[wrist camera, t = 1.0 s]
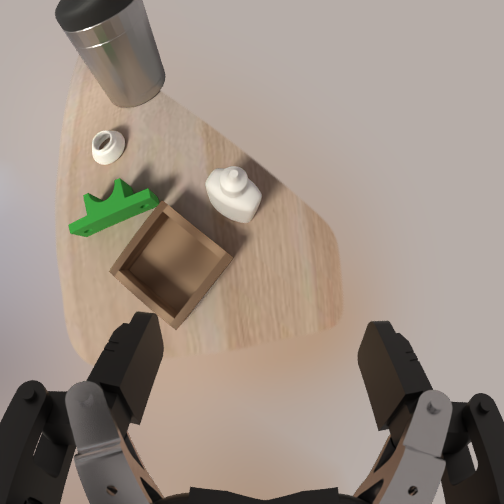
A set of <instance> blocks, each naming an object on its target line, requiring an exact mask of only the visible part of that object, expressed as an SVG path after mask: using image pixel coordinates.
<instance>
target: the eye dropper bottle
mask: <svg viewBox="0 0 504 504" xmlns="http://www.w3.org/2000/svg"><path fill="white" fill-rule="evenodd" d="M205 185H206V189H207V193H208V196H209V199H210V202H211V203H212V205H213V206H214V207H215V209H216V210H217V211H219V212H220V213H221V214H222V215H224V216H225V217H227V218H229V219H231V220H234V221H237V222H242V223H248V222H250V221H251V219H252V218H253V216H254V215H255V213H256V211H257V209H258V206H259V204H260V202H261V198H262V195H261V192H260V190H259V189H258V188H257V186H256V185H255V184H254V183H253V182H252V181H251V180H250V179H248V176H247V173H246V172H245V171H244V170H243V169H242V168H240V167H237V166H230V167H228V168H225V169H222V168H218V169H215V170H213V171H212V173H211V174H210V176H209V177H208V179H207V180H206V184H205Z"/></svg>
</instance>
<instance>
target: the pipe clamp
mask: <svg viewBox="0 0 504 504" xmlns="http://www.w3.org/2000/svg"><path fill="white" fill-rule="evenodd" d="M114 182H115V186H114V190H113V193H112V194H111V196H110V197H109V198H108V199H107V200H105V201H102V200H101V199H99V198H97V197H95V196H93V195H91V194H89V193H87V194H85V195H83V197H84V202H85V207H86V211H87V216H85V217H83V218H81V219H79V220H77V221H75V222H73V223H71V224H69V230H70V234H75V235H80V236H84V237H88V236H90V235H92V234H94V233H97V232H99V231H101V230H103V229H105V228H108V227H110V226H112V225H114V224H117V223H119V222H121V221H124V220H126V219H128V218H131V217H133V216H135V215H138V214H140V213H143V212H145V211H148V210H150V209H153V208H155V207H157V206H158V205H159V200H158V197H157V196H156V195H155V194H154V193H153V192H152V191H150V190H149V189H145V190H143V191H140V192H138V193H136V194H133V190H132V187H130V186H129V185H128V184H127V183H125V182H124V181H123V180H122V179H120V178H119V179H117V180H114Z"/></svg>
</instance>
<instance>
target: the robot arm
mask: <svg viewBox="0 0 504 504" xmlns="http://www.w3.org/2000/svg"><path fill="white" fill-rule="evenodd" d="M55 16H56V19H57V21H58V23H59V24H60V26H61V27H62V29H63V30H64V32H65V33H66V35H67V37H68V38H69V40H70V41H71V43H72V44H73V45H74V47H75V48H76V50H77V51H78V53H79V55H80V56H81V58H82V59H83V61H84V62H85V63H86V65H87V66H88V68H89V69H90V71H91V72H92V74H93V75H94V77H95V78H96V80H97V81H98V83H99V84H100V86H101V87H102V89H103V90H104V92H105V93H106V94H107V96H108V97H109V99H110V100H111V101H112V103H113V104H115V105H116V106H119V107H125V108H128V107H134V106H138V105H141V104H143V103H145V102H147V101H148V100H150V99H151V98H153V97H154V96H155V95H156V94H157V93H158V92H159V91H160V89H161V88H162V86H163V84H164V81H165V72H164V69H163V65H162V62H161V59H160V56H159V53H158V49H157V46H156V43H155V40H154V36H153V33H152V30H151V27H150V24H149V20H148V17H147V14H146V10H145V7H144V4H143V1H142V0H61V1H60V2H59V4H58V6H57V8H56V11H55ZM163 351H164V345H163V339H162V335H161V330H160V326H159V321H158V317H157V315H156V314H155V313H146V312H136V313H135V314H134V316H133V318H132V320H131V322H130V323H129V324H127V323H123V324H122V325H121V326H120V327H118V328H117V329H116V330H115V331H114V332H113V334H112V336H111V337H110V339H109V342H108V343H107V344H106V346H105V348H104V351H102V353H101V355H100V357H99V359H98V360H97V362H96V364H95V366H94V368H93V370H92V371H91V374H90V375H89V377H88V379H87V381H83V382H79V383H76V384H75V385H73V386H72V387H71V388H70V389H69V390H68V391H67V392H57V391H47V390H46V388H45V387H44V386H43V384H42V383H40V382H38V381H34V380H31V381H27V382H25V383H23V384H22V385H21V386H20V387H19V388H18V389H17V391H16V393H15V395H14V397H13V399H12V401H11V402H10V404H9V406H8V408H7V410H6V412H5V414H4V416H3V419H2V420H1V422H0V504H60V502H61V497H62V493H63V490H64V485H65V482H66V479H67V475H68V472H69V468H70V465H71V461H72V458H73V455H74V452H75V449H76V446H77V450H78V454H76V455H75V456H74V461H75V465H76V468H77V471H78V474H79V477H80V480H81V482H82V485H83V488H84V491H85V493H86V496H87V498H88V500H89V503H90V504H432V502H433V499H434V497H435V494H436V492H437V489H438V486H439V484H440V481H441V483H442V487H443V492H444V497H445V502H446V504H504V422H503V419H502V417H501V415H500V413H499V410H498V408H497V406H496V404H495V402H494V400H493V399H492V398H491V397H490V396H488V395H486V394H483V393H479V394H475V395H474V396H473V397H472V398H471V399H470V401H469V402H468V403H465V402H464V403H463V402H451V401H450V399H449V398H448V397H447V396H446V395H445V394H444V393H442V392H440V391H437V390H433V388H432V386H431V384H430V382H429V380H428V378H427V376H426V374H425V373H424V370H423V368H422V366H421V364H420V362H419V361H418V358H417V356H416V355H415V353H414V351H413V349H412V347H411V345H410V343H409V341H408V340H407V339H406V338H404V337H403V336H402V335H401V334H400V333H395V331H394V329H393V327H392V325H391V324H390V322H389V321H372V322H370V323H369V324H368V326H367V328H366V331H365V334H364V337H363V340H362V342H361V345H360V348H359V351H358V365H359V368H360V371H361V374H362V377H363V380H364V383H365V387H366V390H367V393H368V396H369V400H370V403H371V406H372V409H373V413H374V416H375V420H376V423H377V427H378V431H381V430H386V429H389V431H390V435H389V436H388V438H387V440H386V442H385V445H384V447H383V449H382V451H381V452H380V454H379V456H378V459H377V460H376V462H375V464H374V466H373V468H372V470H371V471H370V473H369V475H368V476H367V478H366V479H365V480H364V482H363V483H362V484H361V485H360V486H359V488H358V489H357V490H356V492H355V493H354V495H353V496H350V495H345V494H338V487H336V488H328V489H320V490H310V491H302V492H298V493H295V494H291V495H287V496H283V497H279V498H275V499H271V500H260V499H255V498H251V497H247V496H243V495H239V494H235V493H232V492H228V491H220V490H210V489H202V488H195V487H190V492H189V493H182V494H176V495H172V496H168V497H166V498H164V496H163V495H162V493H161V492H160V490H159V488H158V487H157V485H156V484H155V482H154V481H153V479H152V478H151V476H150V475H149V473H148V472H147V470H146V468H145V466H144V465H143V462H142V460H141V458H140V456H139V454H138V452H137V450H136V449H135V446H134V444H133V442H132V440H131V438H130V435H129V433H128V431H127V430H128V427H129V424H130V423H134V424H138V425H140V423H141V419H142V416H143V413H144V410H145V407H146V404H147V401H148V398H149V395H150V392H151V389H152V386H153V383H154V380H155V377H156V374H157V372H158V369H159V366H160V363H161V360H162V357H163ZM41 433H42V435H41ZM40 435H41V438H40ZM39 438H40V440H39ZM38 440H39V443H38ZM470 442H472V445H473V448H474V451H475V454H476V457H477V460H478V468H477V470H476V471H475V468H474V465H473V462H472V458H471V455H470V452H469V448H468V446H467V445H468V444H469V443H470ZM37 443H38V445H37ZM36 445H37V448H36ZM35 448H36V451H35ZM34 451H35V453H34ZM33 454H34V456H33Z"/></svg>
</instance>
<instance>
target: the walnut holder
mask: <svg viewBox="0 0 504 504" xmlns="http://www.w3.org/2000/svg"><path fill="white" fill-rule="evenodd" d="M232 259H233V257H232V256H231V255H230V254H228V253H227V252H226V251H225V250H223V249H222V248H221V247H220V246H218V245H217V244H216V243H215V242H213V241H212V240H211V239H210V238H208V237H207V236H206V235H205V234H203V233H202V232H201V231H200V230H198V229H197V228H196V227H195V226H193V225H192V224H191V223H190V222H188V221H187V220H186V219H185V218H183V217H182V216H181V215H180V214H179V213H177V212H176V211H175V210H174V209H172V208H171V207H170V206H169V205H167V204H166V203H165V202H164V201H163V200H162V201H161V202H160V203H159V205H158V206H157V207H156V208H155V210H154V211H153V212H152V213H151V215H150V216H149V217H148V218H147V220H146V221H145V222H144V224H143V225H142V226H141V228H140V229H139V230H138V232H137V233H136V234H135V236H134V237H133V238H132V240H131V241H130V242H129V244H128V245H127V246H126V248H125V249H124V251H123V252H122V253H121V255H120V256H119V258H118V259H117V260H116V262H115V263H114V265H113V266H112V268H111V269H110V271H109V272H110V273H111V274H112V275H113V276H114V277H115V278H116V279H117V280H119V281H120V282H121V283H122V284H123V285H124V286H125V287H126V288H127V289H128V290H129V291H131V292H132V293H133V294H134V295H135V296H136V297H137V298H138V299H140V300H141V301H142V302H143V303H144V304H145V305H146V306H148V307H149V308H150V309H151V310H152V311H153V312H155V313H156V314H157V315H158V316H159V317H161V318H162V319H163V320H164V321H165V322H167V323H168V324H169V325H170V326H172V327H173V328H174V329H175V330H177V329H178V327H179V326H180V325H181V324H182V323H183V322H184V320H185V319H186V318H187V317H188V315H189V314H190V313H191V311H192V310H193V309H194V308H195V306H196V305H197V304H198V302H199V301H200V300H201V299H202V297H203V296H204V295H205V294H206V292H207V291H208V290H209V288H210V287H211V286H212V285H213V283H214V282H215V281H216V280H217V278H218V277H219V276H220V275H221V273H222V272H223V271H224V269H225V268H226V267H227V266H228V264H229V263H230V262H231V261H232Z"/></svg>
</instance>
